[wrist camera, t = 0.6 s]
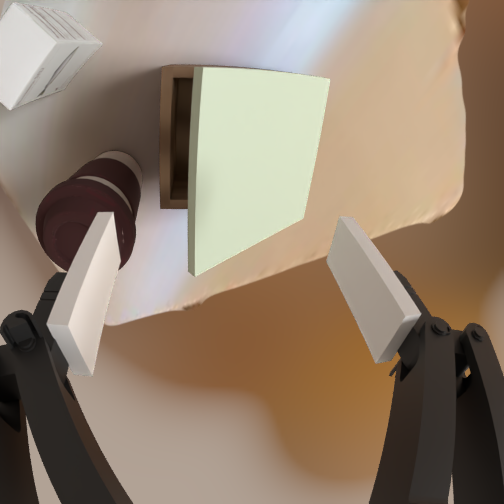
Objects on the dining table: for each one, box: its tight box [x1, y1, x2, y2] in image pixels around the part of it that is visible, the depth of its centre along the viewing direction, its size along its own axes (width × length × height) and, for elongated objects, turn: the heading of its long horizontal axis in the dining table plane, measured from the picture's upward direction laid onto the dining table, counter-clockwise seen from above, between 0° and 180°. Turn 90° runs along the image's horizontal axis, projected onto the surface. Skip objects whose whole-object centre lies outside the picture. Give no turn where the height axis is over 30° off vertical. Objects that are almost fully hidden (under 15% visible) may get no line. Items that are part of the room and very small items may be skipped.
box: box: [159, 65, 273, 209], centre depth 31 cm, size 14×14×8 cm
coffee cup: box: [36, 151, 142, 272], centre depth 29 cm, size 10×10×15 cm
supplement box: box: [0, 2, 103, 110], centre depth 19 cm, size 7×7×13 cm
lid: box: [188, 67, 330, 277], centre depth 24 cm, size 15×14×1 cm
